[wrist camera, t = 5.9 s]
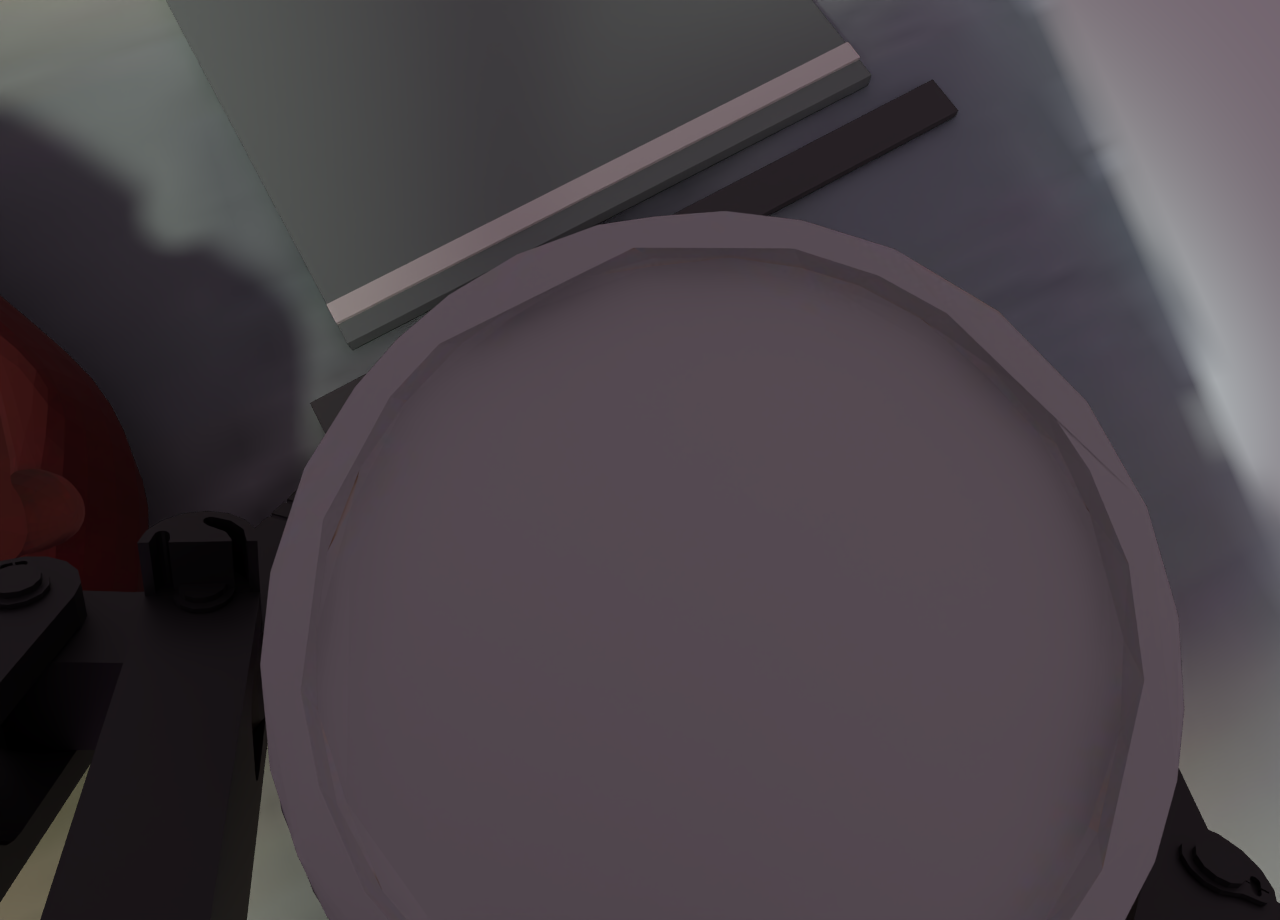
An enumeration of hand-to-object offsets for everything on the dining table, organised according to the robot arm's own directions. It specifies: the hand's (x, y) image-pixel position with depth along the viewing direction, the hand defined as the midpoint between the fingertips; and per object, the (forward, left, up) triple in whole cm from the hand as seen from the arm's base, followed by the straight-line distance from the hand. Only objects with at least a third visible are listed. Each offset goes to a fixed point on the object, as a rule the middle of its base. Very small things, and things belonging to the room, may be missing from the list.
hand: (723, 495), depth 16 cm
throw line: (-7, +3, -4) cm, 9 cm away
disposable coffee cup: (+2, -2, -4) cm, 5 cm away
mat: (-16, +3, -4) cm, 17 cm away
